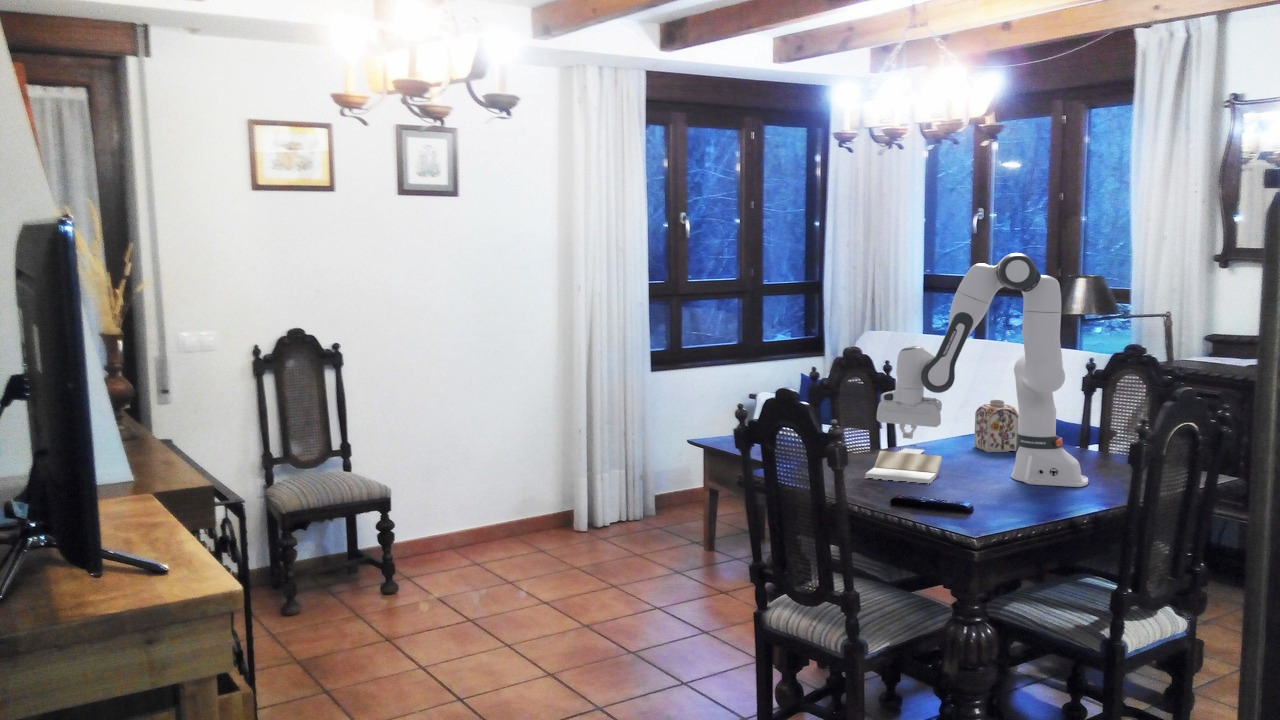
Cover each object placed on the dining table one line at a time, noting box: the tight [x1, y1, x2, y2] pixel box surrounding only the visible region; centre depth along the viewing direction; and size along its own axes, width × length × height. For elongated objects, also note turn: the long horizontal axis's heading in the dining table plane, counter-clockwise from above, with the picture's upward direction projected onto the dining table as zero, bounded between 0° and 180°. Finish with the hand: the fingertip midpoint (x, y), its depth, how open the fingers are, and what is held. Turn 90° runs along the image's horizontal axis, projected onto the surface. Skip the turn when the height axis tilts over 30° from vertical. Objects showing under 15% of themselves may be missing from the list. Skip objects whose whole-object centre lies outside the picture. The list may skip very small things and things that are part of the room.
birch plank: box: [873, 450, 943, 477], centre depth 336 cm, size 20×8×2 cm, turn 62°
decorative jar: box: [973, 399, 1019, 453], centre depth 373 cm, size 12×12×18 cm
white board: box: [864, 467, 937, 485], centre depth 328 cm, size 20×10×2 cm, turn 62°
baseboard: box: [897, 444, 926, 454], centre depth 359 cm, size 30×3×10 cm
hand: (907, 438), depth 336 cm, fingers closed
